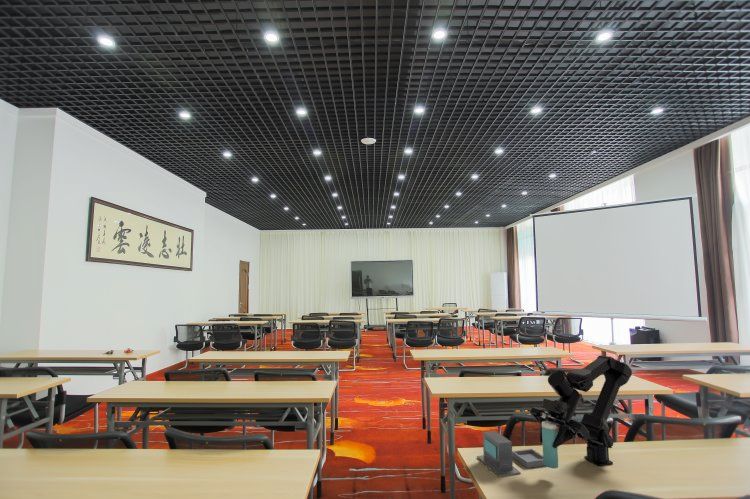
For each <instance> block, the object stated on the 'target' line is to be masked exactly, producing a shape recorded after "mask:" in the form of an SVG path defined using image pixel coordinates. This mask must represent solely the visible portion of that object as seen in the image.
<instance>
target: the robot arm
mask: <svg viewBox="0 0 750 499" xmlns="http://www.w3.org/2000/svg"><path fill="white" fill-rule="evenodd" d="M632 374H633V369H632V368H631V367H630V365H628V364H627V363H624V362H622V361H620V360H617V359H616V358H615V357H612V356H609V355H601V354H600V355H598V356H597V357H596V359H595V360H593V361H591V362H590V363H589V364H587V365H586V366H584V367H583V368H579V369H573V370H571V371H569V372H567V373H566V372H565V371H564V370H562V369H558V370H557V371H556V372H554V373H551V374H550V375H548V377H547V382H548V384H549V386H550V387H551V388H552V390H553V391H554V392H555V393H556V395H557V396H559V397H558V400H557V399H555V400H550V399H548V398H543V399H542V404H541V408H540V407H536V406H532V407H531V408H530V410H529V413H530V415H531V416H532V418H534V419H535V421H536V422H538V423H540V431H539V432H540V433H539V443H541V444H543V442H542V422H543V421H549V422H553V423H555V424H556V426H559V429H558V432H557V436H556V438H555V440H554V443H553V446H552V447H553V448H558V447H560V446H561V445H563V444H565V443H566V442H568V441H570V440H573V439H577V438H579V439H581V440H582V441H585V442H586V455H584V457H583V458H584V459H586V460H587V461H590V462H591V463H592V464H594V465H596V466H607V465H613V463H614V462H613V461H612V460H610V456H609V454H610V452H609V449H612V448H613V447H614V442H615V441H614V438H613V437H612V436H611V434H610V433H609V432H610V427H609V425H608V419H609V416H610V413H611V411H612V408H613V406H614V403H615V400H616V399H617V395H618V394H619V390H620V388H621V387H623V386H624V385H626V384H627V383H628V382H629V380H630V378H631V376H632ZM602 375H603V376H604V379H605V380H604V382H603V384H602V387H601V390H600V392H599V394H598V397H597V400H596V402H595V404H594V406H593V409H592V412H590V413H586V412H585V413H584V414H583V416H582V419H581V420H580V421H578V420H575V419H572V418H573V417H576V416H577V413H576V410H577V408H578V406H579V403H585V400H584V397H583V394H582V393H580V392H579V391H581V392H584V393H587V392H589V391H590V390H591V388H592V387H593V386H594V381H595V380H597V378H599V377H600V376H602ZM544 409H545V410H546V412H547V413H546V412H545V410H544ZM548 414H549V415H548ZM576 435H577V436H576Z"/></svg>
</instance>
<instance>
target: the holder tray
mask: <svg viewBox="0 0 750 499" xmlns="http://www.w3.org/2000/svg"><path fill="white" fill-rule="evenodd" d="M512 459H514V460H516V461H517V462H518V463H520V465H523V466H524V467H525V468H527V469H532V468H538V467H546V466H545V465H544V464H543V454H541V453H540V452H538V451H536V450H535V449H533V448H528V449H527V448H526V449H519V450H512Z"/></svg>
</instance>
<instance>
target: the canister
mask: <svg viewBox="0 0 750 499" xmlns="http://www.w3.org/2000/svg"><path fill="white" fill-rule="evenodd" d="M557 430H558V429H557V424H555V423H553V422H549V421H543V422H542V442H543V443H542V455H543V464H544V465H545V466H544V467H547V468H550V469H558V468H559V453H558V447H557V448H553V447H552V446H553V443H554V440H555V438H556V436H557V434H558V432H557Z"/></svg>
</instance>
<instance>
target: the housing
mask: <svg viewBox="0 0 750 499" xmlns="http://www.w3.org/2000/svg"><path fill="white" fill-rule="evenodd" d="M482 443H483V444H482V446H483V448H482V450H483V454H482V455H477V456H476V459H478V460H479V461H480V462H481V463H482V464H484V466H486V467H487V468H488V469H490V470H491V471H492V472H493V473H494V474H495V475H496V476H497V477H498V478H503V477H504V478H505V477H509V476H510V477H511V476H516V475H521V471H520V470H519V469H517V468H516V467H515V466H513V465H514V464H513V463H514V462H513V457H512V451H513V442H512V441H511V440H509V438H507V437H505V436H504V435H502V434H501V433H499V432H497V430H491V431H490V430H489V431H482Z"/></svg>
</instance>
